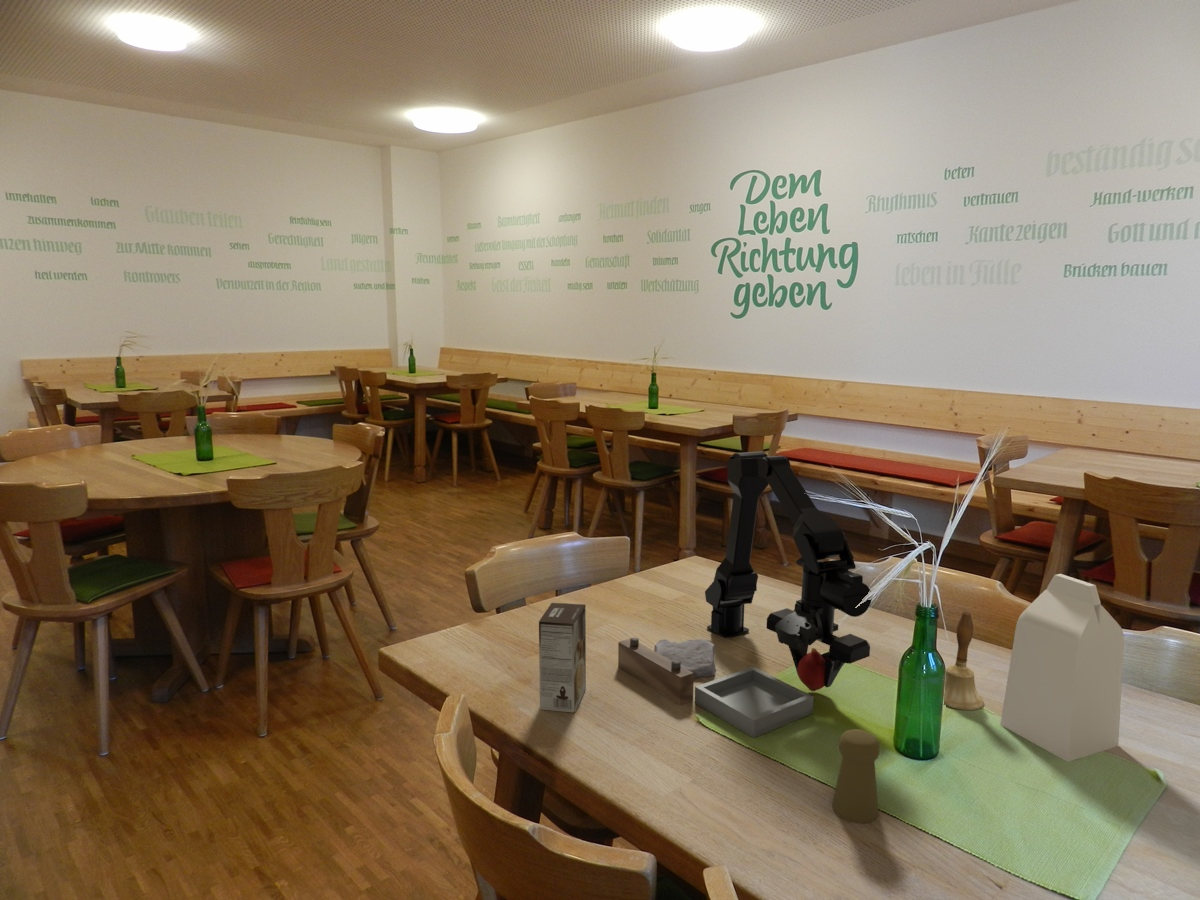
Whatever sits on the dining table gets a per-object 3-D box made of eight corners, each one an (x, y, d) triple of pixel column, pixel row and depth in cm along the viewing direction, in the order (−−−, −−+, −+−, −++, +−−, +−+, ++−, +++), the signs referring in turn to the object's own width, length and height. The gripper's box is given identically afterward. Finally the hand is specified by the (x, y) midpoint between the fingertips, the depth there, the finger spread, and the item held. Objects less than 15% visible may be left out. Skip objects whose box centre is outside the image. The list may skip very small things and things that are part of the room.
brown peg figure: (825, 797, 112) (829, 724, 110) (867, 795, 112) (872, 722, 111) (841, 824, 106) (846, 747, 104) (886, 822, 106) (891, 745, 105)
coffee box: (551, 685, 145) (551, 601, 142) (586, 688, 144) (586, 603, 141) (538, 710, 136) (537, 620, 133) (575, 713, 135) (575, 623, 132)
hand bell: (959, 685, 146) (967, 601, 143) (994, 706, 138) (1003, 618, 135) (921, 691, 143) (928, 606, 140) (955, 713, 135) (963, 624, 133)
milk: (1000, 724, 132) (1014, 573, 127) (1049, 711, 136) (1064, 564, 132) (1067, 761, 121) (1086, 597, 116) (1118, 745, 125) (1138, 587, 121)
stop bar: (630, 662, 154) (631, 632, 153) (693, 699, 140) (693, 666, 139) (618, 666, 153) (618, 635, 151) (679, 704, 138) (680, 670, 137)
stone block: (717, 687, 149) (714, 654, 158) (718, 665, 147) (714, 634, 156) (653, 687, 150) (653, 654, 159) (653, 665, 148) (653, 634, 157)
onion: (831, 686, 144) (833, 644, 143) (829, 700, 139) (831, 657, 138) (797, 681, 146) (800, 639, 145) (794, 695, 141) (797, 652, 139)
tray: (752, 681, 146) (753, 666, 146) (812, 713, 135) (813, 696, 135) (694, 702, 139) (695, 686, 138) (753, 737, 127) (754, 720, 127)
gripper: (746, 589, 143) (743, 671, 145) (830, 623, 127) (825, 714, 130) (789, 578, 149) (785, 657, 152) (874, 608, 134) (868, 696, 136)
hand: (813, 679), depth 142 cm, fingers closed on onion, 6 cm apart
